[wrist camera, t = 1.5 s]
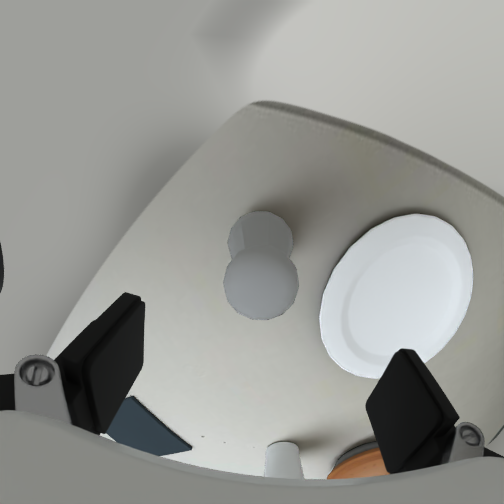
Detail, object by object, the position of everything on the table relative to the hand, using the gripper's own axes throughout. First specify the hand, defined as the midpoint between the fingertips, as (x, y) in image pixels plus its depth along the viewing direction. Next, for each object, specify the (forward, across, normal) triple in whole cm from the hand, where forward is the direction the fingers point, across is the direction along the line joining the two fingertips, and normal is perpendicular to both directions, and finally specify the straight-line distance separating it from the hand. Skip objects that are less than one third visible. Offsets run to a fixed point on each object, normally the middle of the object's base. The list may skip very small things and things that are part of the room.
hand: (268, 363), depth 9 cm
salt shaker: (+19, +1, 0) cm, 19 cm away
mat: (+19, +13, +37) cm, 43 cm away
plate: (+20, -17, +4) cm, 26 cm away
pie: (+20, -28, +36) cm, 49 cm away
